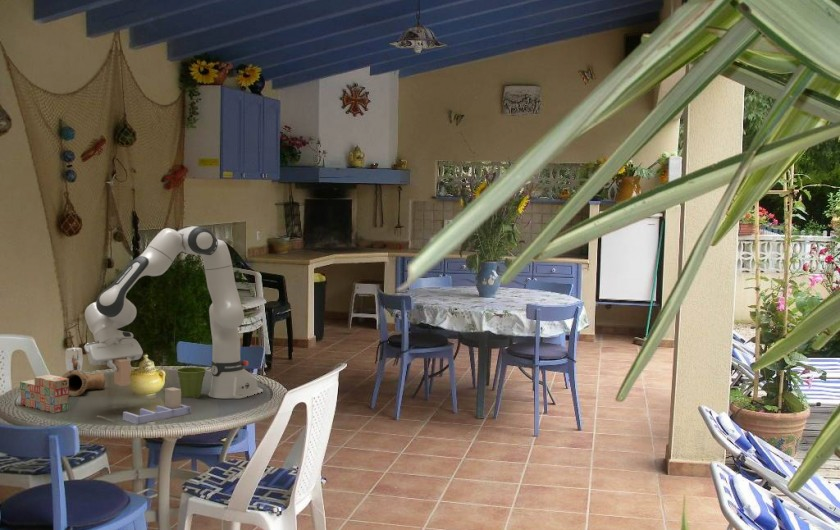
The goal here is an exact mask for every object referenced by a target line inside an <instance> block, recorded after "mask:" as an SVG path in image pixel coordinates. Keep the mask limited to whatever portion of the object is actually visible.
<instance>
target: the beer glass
mask: <svg viewBox="0 0 840 530" xmlns="http://www.w3.org/2000/svg"><path fill="white" fill-rule="evenodd" d="M83 357H84V356H83V348H82V347H68V348H65V356H64V358H65V359H64V360H65V368H66V373H67V372H68V371H70V370H79V371H81V372H82V367H83V364H84V363H83V362H84V360H83Z"/></svg>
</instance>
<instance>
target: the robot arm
mask: <svg viewBox="0 0 840 530" xmlns="http://www.w3.org/2000/svg"><path fill="white" fill-rule="evenodd" d="M180 253H182V254H187V255H193V256H194V255H199V256H200V257H201V260H202V261H203V268H204V274H205V279H206V285H207V290H208V293H209V296H210V298H211V301H212V302H211V304H210V305H209V308H208V309H209V310H208V313H209V326H210V333H211V340H212V341H211V342H212V360H211V366H210V367H211V368H210V369H211V374H212V375H211V382H210V389H209V392H208V396H209V397H210V398H215V399H236V400H237V399H238V400H239V399H243V398H248V397H251V396H255V395H258V394H257V393H259V394H262V393H264V390H263V388H261V387H259V386H258V380H257V378H256V376H254V375H253V374H252V373H251V372H249V371H248V370H246V369H245V367H248V366H249V365H250V364H249V361H248V360H242V359H241V339H240V335H239V327H240V326H241V325H242V324H243V323H244V321H245V312H244V310H243V306H242V302H241V298H240V294H239V291H238V288H237V284H236V279H235V273H234V268H233V267H234V266H233V261H232V258H231V254H230V250H229V248H228V245H227V243H226V242H225V241H224V240H221V239H218V238H216V237H215V235H214V233H213V232H212V230H210V229H209V228H207V227H204V226H198V225H197V226H195V225H194V226H192V225H191V226H185V227H181V228H180V229H178V230H175V229H174V228H169V227H166V228H164V229H162V230H160V231H159V232H158V233H157V234H156V235H155V237H154V238H153V239H152V240H151V241H150V242H149V244H148V246H146V248H145V249H144V251H143V252H142V253H141V254H140V255H138V256H137V257H135V258H134V259H133V260H132V261H130V263H129V264H128V265H127V266H126V267H125V268H124V270H122V272H121V273H120V274H119V275H118V277H116V279H115V280H114V281H113V282H112V283H111V284H110V285H109V286H108V287H106V288H104V290H103V291H101V292H100V293H99V295H98V296H97V298H96V301H95V302H92V303H90V304H89V305H88V306H87V307H86V308H85V310H84V318H85V322H86V325H87V327H88V329H89V331H90V332H91V333H92V336H93V340H94V341H92V342H87V343H85V345H84V346H83V348H84V351H85V353H86V357H87V359H88V363H89V365H91V366H93V367H94V366H103V365H106V366H107V367H108V368H110V369H111V370H112V372H113V373H114V372H118V371H119V368H118V366H115V365H114V360H115V359H127V360H130V363H131V362H132V361H135V360H140V359H141V358H142V357H143V354H144V351H143V349H142V347H141V344H140V343H139V341H137V339H135V338H134V334H133V333H132V332H130V331H123V330H120V329H121V328H124V327H126V326H128V325H130V324H131V323H133V322H134V320H135V319H136V317H137V313H138V310H137V306H135V304H134V303H133V302H131V301H130V300H129V299H128V298H127V297H126V296H127V293H129V291H130V290H131V289H132V288H133V286H134V285H135V284H136V283H137V282H138V280H139V279H141V278H142V277H145V276H150V277H158V276H161V275H164V273H165V272H166V271H168V269H169V268H170V267H171V266H172V264H173V262H174V261H175V259H176V257H177V256H178V255H179V254H180ZM131 369H132V365H131V364H130V371H131ZM261 392H262V393H261ZM254 394H255V395H254ZM247 396H248V397H247Z"/></svg>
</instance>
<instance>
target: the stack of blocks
mask: <svg viewBox="0 0 840 530" xmlns="http://www.w3.org/2000/svg"><path fill="white" fill-rule="evenodd" d="M19 386H20V387H19V388H20V405H21V406H23V405H25V406H24V407H27V406H28V407H27V408H31V407H33V408H32V409H35V408H38V409H37V410H39V409H43V410H42V411H44V410H47V411H46V412H48V411H50V412H49V413H52V412H54V413H53V414H56V412H58V413H61V412H60V411H62V412H65V411H64V410H67V411H69V410H68V409H70V403H69V401H70V400H69V398H70V396H69V395H68V394H69V379H67V378H63V377H62V376H60V375H59V376H58V375H53V374H45V375H40V376H38V375H37V376H34V379H28V380H24V381H23V380H22V381H20V383H19Z"/></svg>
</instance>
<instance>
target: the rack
mask: <svg viewBox="0 0 840 530" xmlns="http://www.w3.org/2000/svg"><path fill="white" fill-rule="evenodd" d="M191 407H192V406H190V405H186V404H182V403H181V408H178V409H169V408H166V407H165V406H162V405H156V406H155V411H153V410H149V409H146V408H143V407H142V408H139V415H138V414H135V413H132V412H128V411H123V412H122V420H123V421H127V422H130V423H132V424H134V425H135V424H136V425H140V424H146V423H149V422H155V421H160V420H166V419H170V418H177V417H179V416H184V415H186V416H187V415H189V414H190V415H191V414H192V408H191Z"/></svg>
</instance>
